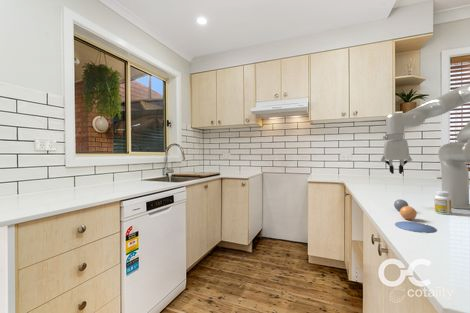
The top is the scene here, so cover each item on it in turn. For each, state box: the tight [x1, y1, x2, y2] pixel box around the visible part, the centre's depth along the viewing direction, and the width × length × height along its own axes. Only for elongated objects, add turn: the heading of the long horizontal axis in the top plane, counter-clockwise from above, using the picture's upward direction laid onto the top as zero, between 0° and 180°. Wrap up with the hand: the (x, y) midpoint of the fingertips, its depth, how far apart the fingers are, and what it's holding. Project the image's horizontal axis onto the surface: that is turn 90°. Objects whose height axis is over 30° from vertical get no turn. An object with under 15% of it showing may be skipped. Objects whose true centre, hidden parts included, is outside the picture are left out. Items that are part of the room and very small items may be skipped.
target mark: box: [394, 220, 437, 234], centre depth 82 cm, size 12×12×1 cm
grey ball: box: [393, 199, 409, 212], centre depth 103 cm, size 6×6×6 cm
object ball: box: [399, 205, 418, 221], centre depth 90 cm, size 6×6×6 cm
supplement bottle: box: [434, 190, 452, 215], centre depth 97 cm, size 5×5×10 cm
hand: (396, 173), depth 111 cm, fingers open, 2 cm apart
